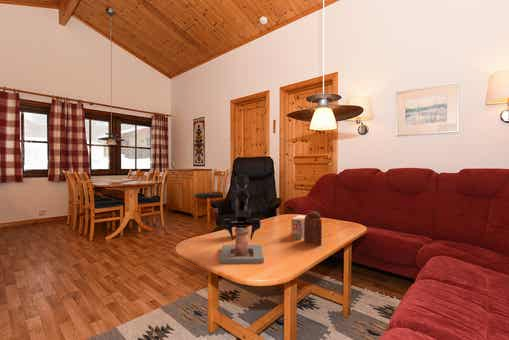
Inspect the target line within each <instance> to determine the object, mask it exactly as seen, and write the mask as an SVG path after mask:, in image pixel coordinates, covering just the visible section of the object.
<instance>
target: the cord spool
mask: <svg viewBox="0 0 509 340" xmlns="http://www.w3.org/2000/svg"><path fill="white" fill-rule="evenodd" d="M234 233H235V235H236V237H235V245H236V253H234V257H250V252H248V245H249V233H250V229H249V228H248V227H247V228H237V229H236V228H235V229H234Z"/></svg>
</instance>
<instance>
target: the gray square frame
mask: <svg viewBox="0 0 509 340" xmlns="http://www.w3.org/2000/svg"><path fill="white" fill-rule="evenodd" d="M262 248H263V247H262V245H261V244H248V253H252V256H249V257H235V256H231V254H233V253H234V254H235V253H236V244H222V246H221V251H220V255H219V260H218V261H219V264H264V263H265V257H264V253H263V250H262Z"/></svg>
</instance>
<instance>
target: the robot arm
mask: <svg viewBox="0 0 509 340" xmlns="http://www.w3.org/2000/svg"><path fill="white" fill-rule="evenodd" d="M234 182H235V183H236V187H237V190H236V193H235V194H234V201H235V202H236V213H235V217H234V221H232V218H225V219H223V222H222V224H223V225H222V226H223V229H224V230H226V231H227V232H228V233H229V234H230V238H231V240H232V241H233V240H234V238H236V234H233V227H234V228H235V229H237V228H247V229H248V228H249V227H251V231H250V240H252V239H253V237H254V234H255V232H256V231H258V230H260V229H261V219H259V218H253V219H252V221H250V220H251V219H250V218H249V217H251V214H252V213H251V212H252V211H251V208H250V209H249V208H248V201H250V200H251V196H250V195H249V194H250V193H249V194H248V190H247V189H246V188H247V187H248V183H249V175H246V174H237V175H236V176H235V181H234Z"/></svg>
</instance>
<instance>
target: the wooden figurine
mask: <svg viewBox="0 0 509 340" xmlns="http://www.w3.org/2000/svg"><path fill="white" fill-rule="evenodd" d="M304 216H305V220H304V227H305V228H304V238H303V241H304V242H305V243H308V244H312V245H314V246H322V243H323V242H322V240H323V239H322V238H323V237H322V234H323V233H322V232H323V230H322V229H323V225H322V215H321V214H320V213H319V212H317V211H313V210H312V211H309V212H308V213H307V214H306V215H304Z"/></svg>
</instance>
